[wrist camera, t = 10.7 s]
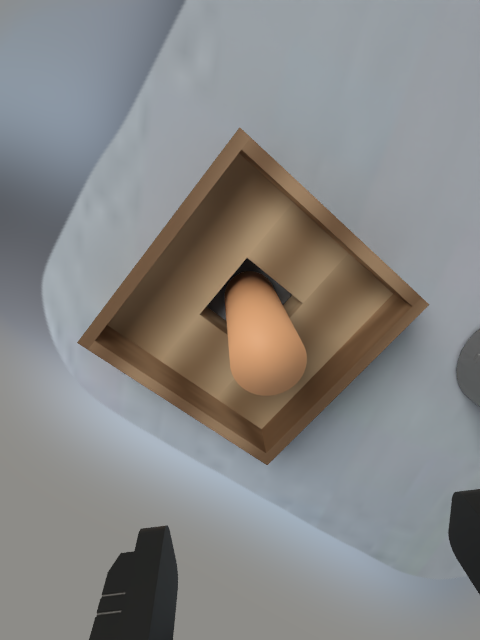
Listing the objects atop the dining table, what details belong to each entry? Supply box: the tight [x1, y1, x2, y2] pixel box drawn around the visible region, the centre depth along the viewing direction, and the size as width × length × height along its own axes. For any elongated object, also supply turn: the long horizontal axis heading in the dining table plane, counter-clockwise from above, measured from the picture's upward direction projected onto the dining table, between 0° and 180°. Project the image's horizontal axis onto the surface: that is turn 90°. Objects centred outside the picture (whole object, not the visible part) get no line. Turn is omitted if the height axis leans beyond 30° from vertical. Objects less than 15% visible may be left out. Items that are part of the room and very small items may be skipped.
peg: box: [225, 271, 307, 396], centre depth 26 cm, size 4×4×12 cm
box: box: [77, 128, 429, 465], centre depth 29 cm, size 17×17×6 cm
